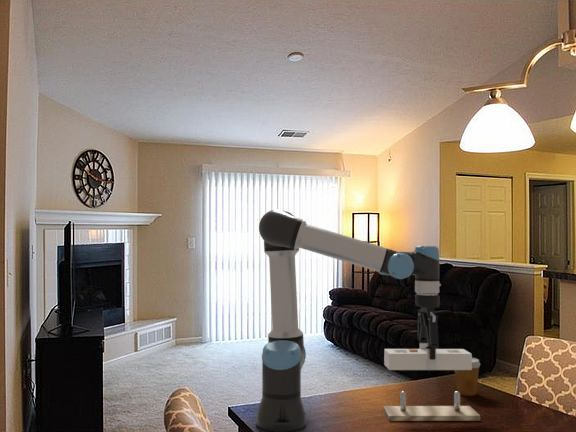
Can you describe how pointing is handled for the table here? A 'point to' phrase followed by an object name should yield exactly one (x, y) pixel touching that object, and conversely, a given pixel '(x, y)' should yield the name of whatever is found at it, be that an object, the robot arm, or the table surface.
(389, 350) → the power strip
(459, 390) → the disposable coffee cup
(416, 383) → the table surface
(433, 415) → the hanger board
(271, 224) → the robot arm
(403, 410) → the chrome knobs
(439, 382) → the table surface
